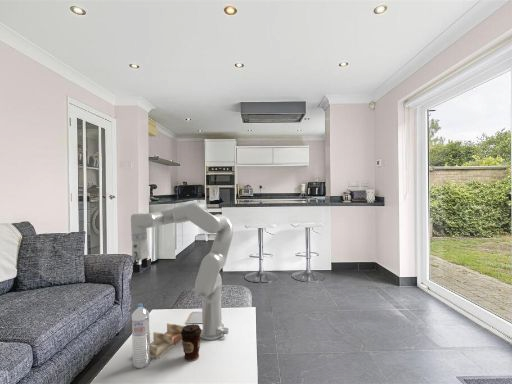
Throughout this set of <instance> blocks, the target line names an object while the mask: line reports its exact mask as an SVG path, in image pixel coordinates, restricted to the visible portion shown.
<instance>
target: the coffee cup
mask: <svg viewBox="0 0 512 384" xmlns="http://www.w3.org/2000/svg"><path fill="white" fill-rule="evenodd" d="M183 326H184V327H183V329H182V331H181V335H182V340H181V341H182V350H183V353H184V355H183V358H184V360H185V361H188V362H192V361H197V360H198V359H199V358H200V354H199V353H200V352H199V351H200V349H201V337H200V335H201V331H202V329H201V327H200V324H196V323H195V324H194V323H193V324H187V325H183Z"/></svg>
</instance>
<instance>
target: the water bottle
mask: <svg viewBox="0 0 512 384" xmlns="http://www.w3.org/2000/svg"><path fill="white" fill-rule="evenodd" d="M131 326H132V327H131V332H132V333H131V340H132V341H131V342H132V343H131V344H132V346H131V347H132V365H133V368H135V369H143V368H146V367H148V366H149V365H150V363H151V358H150V343H151V332H150V311H148V309H147V308H146V307H144V306H143V303H142V302H141V303H138V304H137V308H136V309H135V310H134V311H133V313H132V314H131Z"/></svg>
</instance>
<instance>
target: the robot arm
mask: <svg viewBox="0 0 512 384" xmlns="http://www.w3.org/2000/svg"><path fill="white" fill-rule="evenodd" d="M186 222H190V223H193V225H195V226H197V227H198V228H199V229H201V230H203V231H204V232H206V233H209V234H215V237H214V240H213V242H212V245H211V249H210V251H209V252H208V254H206V255H205V256H204V257H203V259H202V260H201V263H200V265H199V269H198V272H197V274H196V275H197V276H196V279H195V283H194V289H195V292H196V294H197V295H199V296H201V313H202V314H201V315H202V317H201V318H202V319H201V320H202V329H201V330H202V331H201V335H200V339H203V340H206V341H215V340H218V339H220V338H223V337H224V336H225V335H228V334H229V328H228V327H225V325H224V323H223V321H222V320H223V318H222V315H223V314H222V287H223V286H222V285H223V282H222V281H223V280H222V279H223V278H222V276H221V273H220V271H221V269H223V267H224V266H225V265H226V262H227V259H228V254H229V251H230V247H231V244H232V243H231V242H232V240H233V234H234V227H233V225H232V221H230V219H229V218H228V217H227V216H225V215H224V214H220V213H216V214H212V213H210V212H208V207H207V205H206V204H204V203H203V202H191V203H188V204H183V205H178V206H174V207H173V208H171V209H167V210H165V209H164V210H161V211H154V212H147V213H142V212H141V213H139V212H138V213H132V214H131V215H130V229H131V230H130V235H131V236H130V237H131V242H132V243H131V245H132V246H131V257H130V258H131V262H132V263H131V264H132V273H137V274H138V273H140V272H141V271H140V270H141V269H140V267H141V268H142V269H143V268H144V269H146V268H148V267H149V266H148V265H149V264H148V257H149V256H150V255H149V243H148V230H147V229H152V228H155V227H159V226H160V227H161V226H164V225H170V224H174V223H175V224H182V223H186ZM140 264H141V266H140Z"/></svg>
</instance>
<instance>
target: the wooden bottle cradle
mask: <svg viewBox="0 0 512 384" xmlns="http://www.w3.org/2000/svg"><path fill="white" fill-rule="evenodd" d="M184 326H185V325H181V324H175V323H169V322H168V323H166V331H165V333H163V332H156V331H153V335H152V336H153V341H152V342H150V359H155V360H157V359H158V358H159V357H161V356H162V355H163V354H164V353H166V352H167V351H168V350H169V349H171V348H172V347H173V346H176V345H178V344H179V343H180V342H181V341H182V335H181V331H182V329H183V327H184Z"/></svg>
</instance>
